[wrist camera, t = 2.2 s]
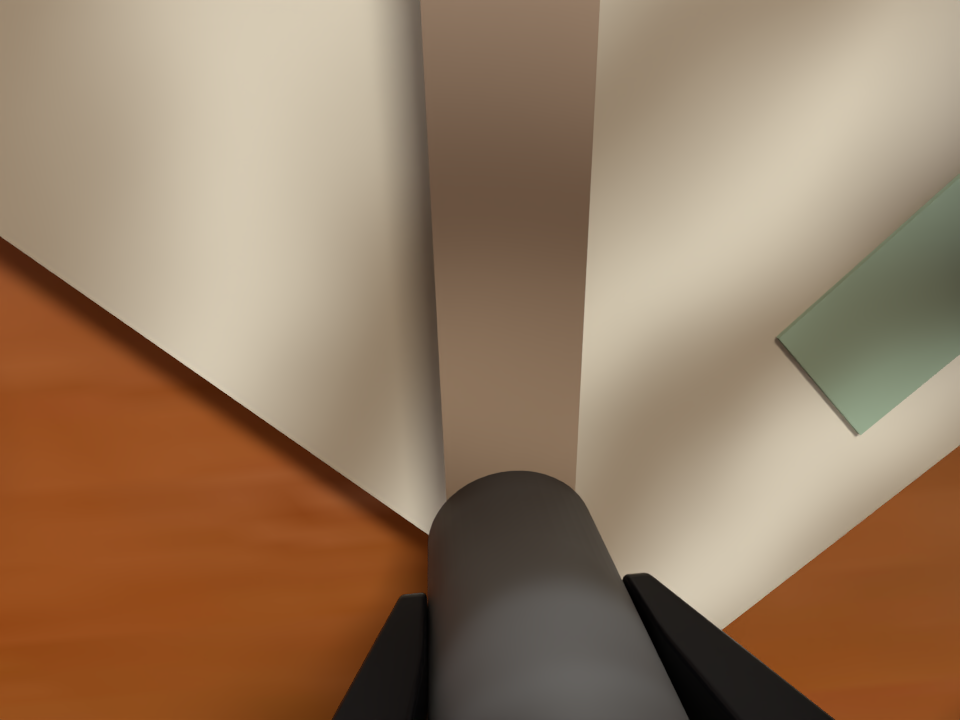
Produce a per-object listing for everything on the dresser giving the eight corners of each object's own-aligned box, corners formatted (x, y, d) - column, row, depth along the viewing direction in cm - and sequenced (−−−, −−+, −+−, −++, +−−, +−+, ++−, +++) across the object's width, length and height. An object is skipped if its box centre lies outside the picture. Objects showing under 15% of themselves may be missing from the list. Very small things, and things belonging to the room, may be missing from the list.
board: (1167, 207, 12) (1267, 212, 11) (628, 642, 16) (648, 690, 14) (525, -1282, 6) (561, -1818, 4) (-194, 45, 9) (-319, 18, 7)
